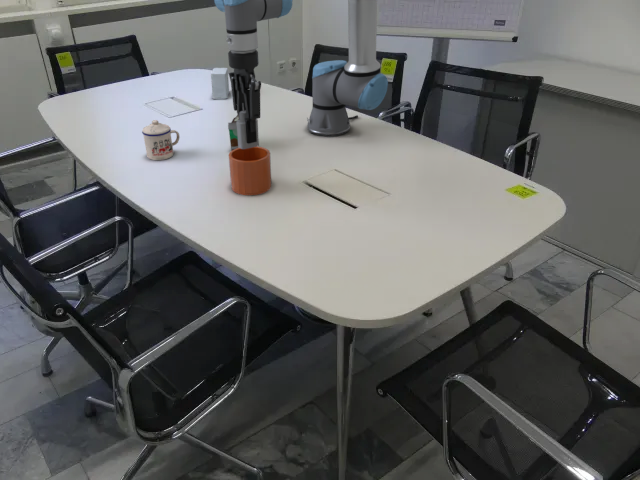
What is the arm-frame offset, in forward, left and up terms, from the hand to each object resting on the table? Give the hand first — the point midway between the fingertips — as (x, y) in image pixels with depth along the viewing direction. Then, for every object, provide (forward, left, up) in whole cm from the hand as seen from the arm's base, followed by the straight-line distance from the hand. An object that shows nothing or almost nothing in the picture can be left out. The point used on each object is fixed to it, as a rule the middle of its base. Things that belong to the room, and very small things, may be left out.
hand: (248, 140), depth 147 cm
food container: (-13, -29, -14) cm, 35 cm away
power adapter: (0, 0, -2) cm, 2 cm away
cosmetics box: (-33, -87, -14) cm, 94 cm away
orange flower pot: (0, 0, -14) cm, 14 cm away
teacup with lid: (+12, -38, -14) cm, 42 cm away
